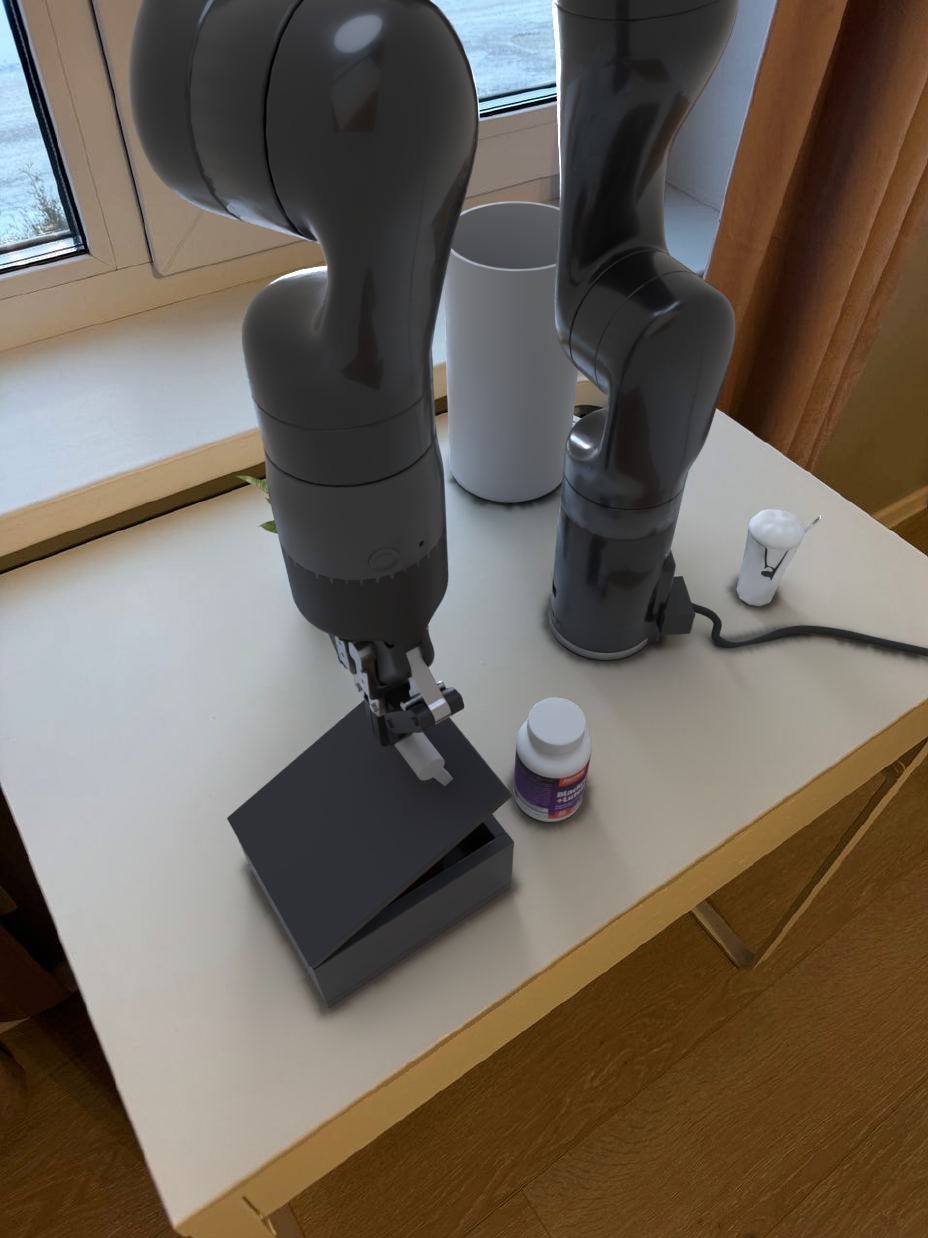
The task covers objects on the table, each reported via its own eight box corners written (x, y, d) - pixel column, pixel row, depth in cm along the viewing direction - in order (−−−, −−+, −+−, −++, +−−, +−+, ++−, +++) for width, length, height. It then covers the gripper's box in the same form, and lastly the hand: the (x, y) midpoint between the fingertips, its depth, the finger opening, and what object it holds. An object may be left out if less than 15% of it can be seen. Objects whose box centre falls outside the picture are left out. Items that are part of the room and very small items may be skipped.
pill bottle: (562, 836, 66) (573, 766, 59) (500, 802, 68) (502, 731, 61) (595, 782, 69) (609, 709, 62) (534, 751, 71) (541, 676, 64)
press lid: (410, 668, 60) (380, 638, 56) (513, 796, 54) (488, 772, 50) (232, 821, 60) (190, 802, 56) (315, 968, 53) (274, 959, 49)
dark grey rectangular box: (422, 769, 70) (418, 718, 65) (511, 887, 64) (514, 841, 59) (250, 868, 65) (230, 822, 60) (327, 1008, 58) (313, 970, 53)
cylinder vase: (570, 434, 98) (592, 204, 79) (565, 510, 90) (588, 274, 71) (457, 427, 99) (452, 198, 80) (442, 502, 91) (432, 267, 72)
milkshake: (790, 616, 80) (822, 535, 73) (729, 608, 81) (755, 527, 73) (788, 580, 83) (819, 498, 76) (729, 572, 84) (754, 491, 76)
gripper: (518, 567, 37) (508, 781, 50) (361, 409, 45) (388, 632, 58) (361, 646, 35) (394, 850, 48) (221, 465, 42) (284, 686, 55)
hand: (391, 731), depth 53 cm, fingers closed
